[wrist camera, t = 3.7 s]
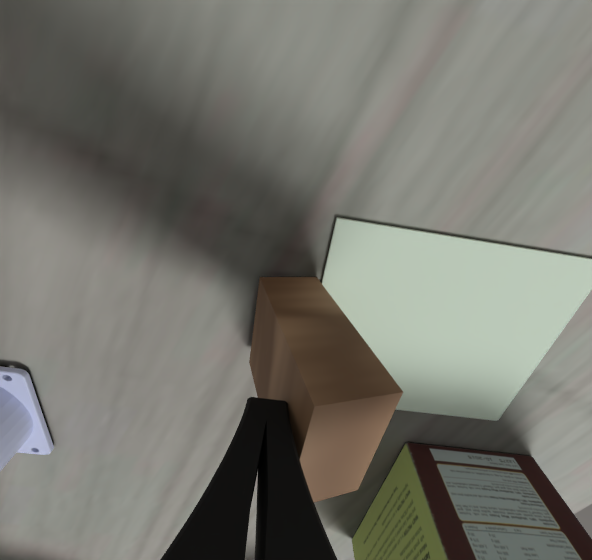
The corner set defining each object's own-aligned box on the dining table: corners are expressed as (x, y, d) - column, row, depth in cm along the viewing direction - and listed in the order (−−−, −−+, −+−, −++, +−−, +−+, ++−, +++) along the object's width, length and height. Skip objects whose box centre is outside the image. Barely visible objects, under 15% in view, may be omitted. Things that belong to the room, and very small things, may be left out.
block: (249, 362, 17) (285, 510, 11) (259, 276, 14) (314, 406, 8) (298, 357, 18) (357, 489, 12) (316, 276, 15) (403, 391, 9)
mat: (295, 396, 19) (295, 398, 19) (336, 217, 14) (337, 218, 14) (495, 418, 20) (497, 420, 20) (607, 260, 15) (611, 262, 15)
